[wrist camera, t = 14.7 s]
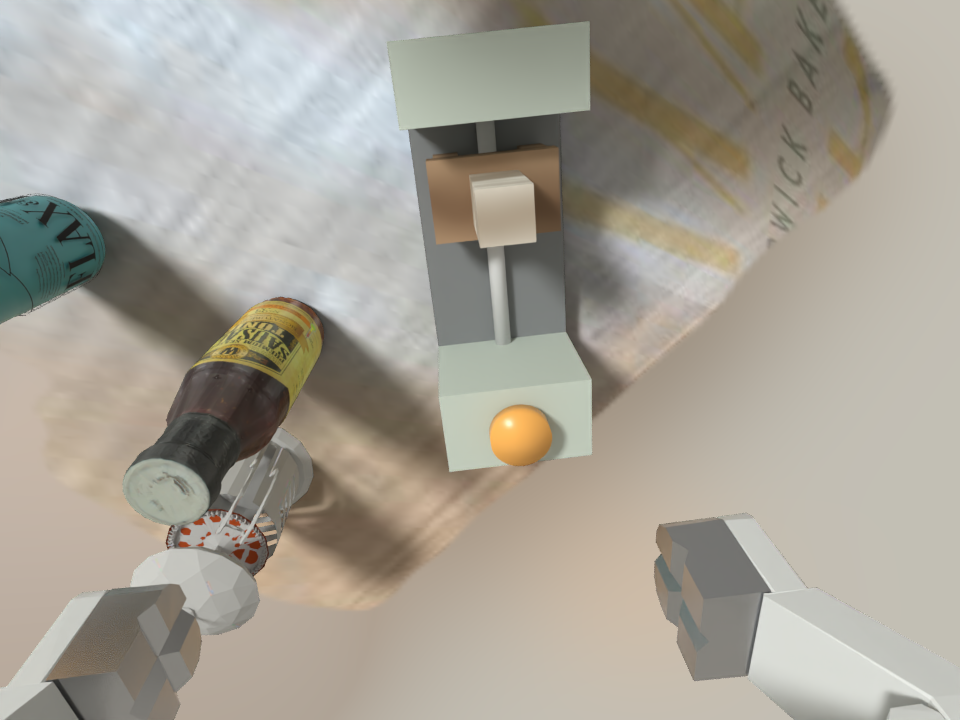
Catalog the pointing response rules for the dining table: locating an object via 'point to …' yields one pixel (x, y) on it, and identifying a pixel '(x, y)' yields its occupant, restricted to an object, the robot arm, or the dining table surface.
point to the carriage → (495, 195)
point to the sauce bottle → (226, 410)
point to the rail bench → (502, 269)
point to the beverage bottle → (44, 252)
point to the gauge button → (520, 435)
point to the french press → (232, 537)
